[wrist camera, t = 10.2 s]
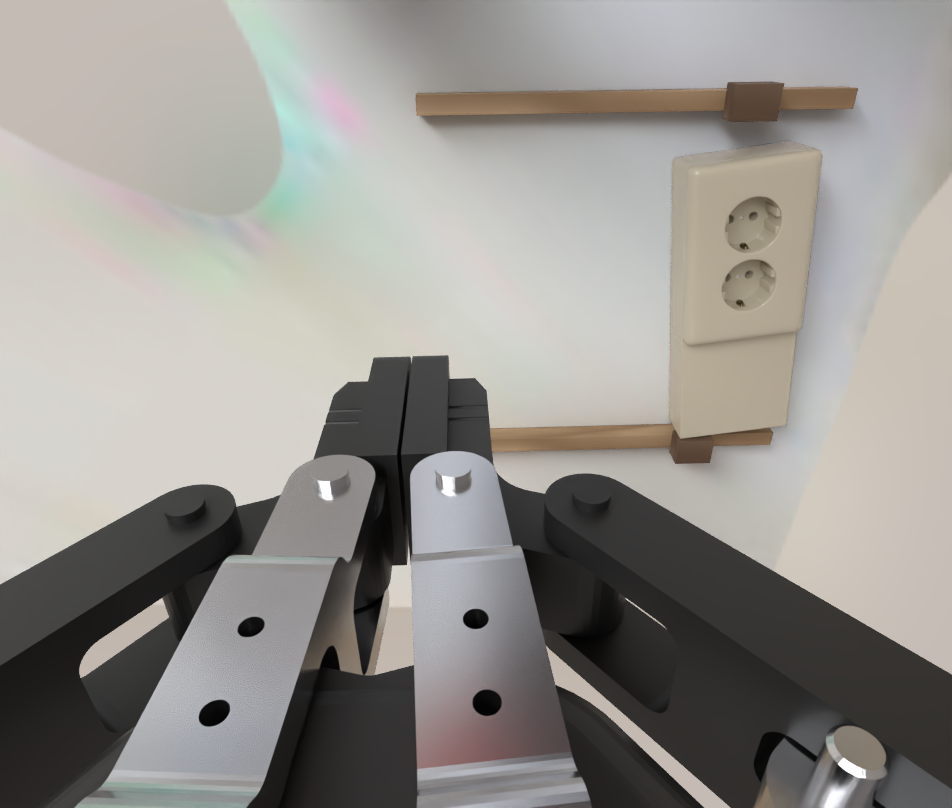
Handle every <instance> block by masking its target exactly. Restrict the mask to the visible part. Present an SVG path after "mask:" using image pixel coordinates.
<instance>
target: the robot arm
mask: <svg viewBox="0 0 952 808" xmlns="http://www.w3.org/2000/svg"><path fill="white" fill-rule="evenodd" d="M408 546H409V550H410V561H411V580H412V610H413V612H412V614H413V645H414V646H413V647H414V665H413V666H409V667H405V668H401V669H397V670H394V671H390V672H386V673H382V674H378V675H374V674H375V670H376V665H377V660H378V655H379V650H380V645H381V640H382V635H383V631H384V626H385V621H386V616H387V611H388V607H389V590H388V586H389V583H390V579H391V570H392V565H407V558H408ZM161 598H163V601H164V604H165V607H166V609H167V612H168V615H169V618H168V619H167V620H165V621H164V622H162V623H161V624H159V625H158V626H157V627H155V628H154V629H152V630H151V631H149V632H148V633H146V634H145V635H144V636H142V637H141V638H139V639H138V640H136V641H135V642H134V643H132V644H131V645H129V646H128V647H126V648H125V649H124V650H122V651H121V652H119V653H118V654H116V655H115V656H113V657H112V658H111V659H109V660H108V661H106V662H105V663H103V664H102V665H101V666H99V667H98V668H96V669H95V670H94V671H92V672H90V673H89V674H88V675H86V676H84V677H82V678H80V675H79V667H80V663H81V660H82V659H83V656H84V655H85V654H86V652H87V651H88V649H89V648H90V647H91V646H92V645H93V644H94V643H96V642H97V641H98V640H99V639H101V638H102V637H104V636H105V635H107V634H109V633H110V632H112V631H113V630H115V629H116V628H117V627H119V626H120V625H122V624H123V623H125V622H126V621H128V620H129V619H131V618H132V617H134V616H135V615H137V614H138V613H140V612H141V611H143V610H144V609H146V608H147V607H149V606H150V605H152V604H153V603H155V602H156V601H158V600H159V599H161ZM625 598H627V599H629V600H630V601H631V602H633V603H634V604H636V605H637V606H638V607H640V608H641V609H642V610H644V611H645V612H647V613H648V614H649V615H651V616H652V617H653V618H655V619H656V620H658V621H659V622H660V623H661V624H663V625H664V626H665V627H666V628H667V629H665V628H664V627H663V626H661V625H660V624H658V623H657V622H656V621H654V620H653V619H652V618H650V617H649V616H648V615H646V614H645V613H643V612H642V611H641V610H639V609H638V608H637V607H635V606H634V605H632V604H631V603H630V602H628V601H627V600H626V599H625ZM545 644H546V645H545ZM546 646H547V647H548V648H549V649H550V650H551V651H552V652H554V653H555V654H556V655H557V656H558V657H559V658H560V659H562V660H563V661H564V662H565V663H566V664H567V665H568V666H570V667H571V668H572V669H573V670H574V671H575V672H576V673H578V674H579V675H580V676H581V677H582V678H583V679H585V680H586V681H587V682H588V683H589V684H590V685H591V686H593V687H594V688H595V689H596V690H597V691H598V692H600V694H602V695H603V696H604V697H605V698H606V699H607V700H608V701H610V702H611V703H612V704H613V705H614V706H615V707H616V708H618V709H619V710H620V711H621V712H622V713H623V714H624V715H626V716H627V717H628V718H629V719H630V720H631V721H633V722H634V723H635V724H636V725H637V726H638V727H640V728H641V729H642V730H643V731H644V732H645V733H646V734H647V735H648V736H650V737H651V738H652V739H653V740H654V741H655V742H656V743H658V744H659V745H660V746H661V747H662V748H664V750H666V751H667V752H668V753H669V754H670V755H671V756H672V757H674V758H675V759H676V760H677V761H678V762H679V763H680V764H682V765H683V766H684V767H685V768H686V769H687V770H688V771H690V772H691V773H692V774H693V775H694V776H695V777H697V778H698V779H699V780H700V781H701V782H702V783H703V784H704V785H706V786H707V787H708V788H709V789H710V790H711V791H712V792H714V793H715V794H716V795H717V796H718V797H719V798H720V799H722V800H723V801H724V802H725V803H726V804H727V805H728V806H730V807H731V808H952V675H951V674H950V673H948V672H946V671H944V670H943V669H941V668H939V667H938V666H936V665H934V664H932V663H931V662H929V661H927V660H926V659H924V658H922V657H920V656H919V655H917V654H915V653H913V652H912V651H910V650H908V649H907V648H905V647H903V646H901V645H900V644H898V643H896V642H895V641H893V640H891V639H889V638H888V637H886V636H884V635H882V634H881V633H879V632H877V631H875V630H874V629H872V628H870V627H869V626H867V625H865V624H863V623H862V622H860V621H858V620H857V619H855V618H853V617H851V616H850V615H848V614H846V613H844V612H843V611H841V610H839V609H838V608H836V607H834V606H832V605H831V604H829V603H827V602H825V601H824V600H822V599H820V598H819V597H817V596H815V595H813V594H812V593H810V592H808V591H807V590H805V589H803V588H801V587H800V586H798V585H796V584H795V583H793V582H791V581H789V580H788V579H786V578H784V577H782V576H780V575H779V574H777V573H776V572H774V571H772V570H770V569H769V568H767V567H765V566H763V565H762V564H760V563H758V562H757V561H755V560H753V559H751V558H750V557H748V556H746V555H745V554H743V553H741V552H739V551H738V550H736V549H734V548H732V547H731V546H729V545H727V544H726V543H724V542H722V541H720V540H719V539H717V538H715V537H713V536H712V535H710V534H708V533H707V532H705V531H703V530H701V529H700V528H698V527H696V526H695V525H693V524H691V523H689V522H688V521H686V520H684V519H682V518H681V517H679V516H677V515H676V514H674V513H672V512H670V511H669V510H667V509H665V508H663V507H662V506H660V505H658V504H657V503H655V502H653V501H651V500H650V499H648V498H646V497H644V496H643V495H641V494H639V493H638V492H636V491H634V490H632V489H631V488H629V487H627V486H626V485H624V484H622V483H620V482H618V481H616V480H614V479H612V478H609V477H606V476H602V475H596V474H574V475H569V476H566V477H563V478H561V479H559V480H557V481H555V482H554V483H552V484H551V485H550V486H549V488H548V489H547V491H546V494H543V493H537V492H532V491H528V490H524V489H521V488H518V487H515V486H513V485H511V484H509V483H508V482H506V481H505V480H504V479H502V478H501V477H500V476H499V475H498V473H497V472H496V470H495V467H494V465H493V457H492V446H491V435H490V424H489V414H488V403H487V392H486V390H485V389H484V388H483V386H482V385H481V384H480V383H479V382H478V381H477V380H476V379H475V378H468V379H450V378H449V357H448V355H447V356H413V358H412V364H411V358H410V357H380V358H374V359H373V363H372V367H371V372H370V376H369V380H368V382H348V383H347V384H346V385H345V386H344V387H342V388H341V389H340V390H339V391H338V392H337V393H336V394H335V395H334V396H333V400H332V403H331V406H330V409H329V413H328V415H327V418H326V425H324V428H323V431H322V434H321V437H320V441H319V444H318V447H317V450H316V453H315V456H314V459H313V460H311V461H309V462H307V463H305V464H303V465H302V466H300V467H299V468H297V469H296V470H295V471H294V472H293V473H292V474H291V476H290V477H289V479H288V481H287V483H286V485H285V487H284V490H283V492H282V494H281V495H279V496H276V497H274V498H271V499H267V500H263V501H259V502H255V503H251V504H247V505H242V506H238V507H236V503H235V499H234V497H233V495H232V494H231V493H230V492H229V491H228V490H226V489H224V488H222V487H219V486H215V485H192V486H187V487H182V488H179V489H176V490H173V491H170V492H168V493H166V494H164V495H162V496H160V497H158V498H156V499H154V500H153V501H151V502H149V503H147V504H145V505H144V506H142V507H140V508H138V509H136V510H135V511H133V512H131V513H129V514H127V515H126V516H124V517H122V518H120V519H118V520H116V521H115V522H113V523H111V524H109V525H107V526H106V527H104V528H102V529H100V530H98V531H97V532H95V533H93V534H91V535H89V536H88V537H86V538H84V539H82V540H80V541H78V542H77V543H75V544H73V545H71V546H69V547H68V548H66V549H64V550H62V551H60V552H59V553H57V554H55V555H53V556H51V557H49V558H48V559H46V560H44V561H42V562H40V563H39V564H37V565H35V566H33V567H31V568H30V569H28V570H26V571H24V572H22V573H21V574H19V575H17V576H15V577H13V578H11V579H10V580H8V581H6V582H4V583H2V584H1V585H0V808H704V807H703V806H702V805H701V804H700V803H698V802H697V801H696V800H695V799H694V798H693V797H692V796H691V795H690V794H689V793H688V792H687V791H686V790H685V789H684V788H683V787H682V786H681V785H679V784H678V782H676V781H675V780H674V779H673V778H672V777H671V776H670V775H669V774H668V773H667V772H666V771H665V770H664V769H663V768H662V767H661V766H660V765H659V764H658V763H657V762H655V761H654V760H653V759H652V758H651V757H650V756H649V755H648V754H647V753H646V752H645V751H644V750H643V749H642V748H640V746H639V745H638V744H637V743H636V742H635V741H633V740H632V739H631V738H630V737H629V736H628V735H627V734H626V733H625V732H624V731H623V730H622V729H621V728H620V727H619V726H618V725H617V724H616V723H615V722H613V721H612V720H611V719H610V718H609V717H608V716H607V715H606V714H604V713H603V712H602V711H600V710H599V709H598V708H596V707H595V706H594V705H592V704H591V703H590V702H588V701H586V700H585V699H583V698H581V697H579V696H577V695H576V694H574V693H572V692H570V691H568V690H566V689H563V688H561V687H559V686H557V685H555V682H554V678H553V674H552V670H551V666H550V661H549V657H548V653H547V649H546Z"/></svg>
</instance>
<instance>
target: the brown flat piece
mask: <svg viewBox="0 0 952 808" xmlns="http://www.w3.org/2000/svg"><path fill="white" fill-rule="evenodd" d="M857 91H858V88H851V87H784V83H778V82H728V84H727V88H716V89H653V90H589V91H525V92H461V93H417V94H416V112H417V116H428V115H489V114H550V113H612V112H673V111H723V116H722V119H725V120H728V121H731V122H749V121H777V118H778V113H779V110H795V109H853V107H854V103H855V99H856V95H857ZM490 435H491V446H492V452H502V451H540V450H578V449H616V448H654V447H670V451H669V452H670V454H671V456H672V458H673V460H674V462H675V464H683V463H710V459H711V454H712V449H713V446H729V445H767V444H770V443H771V439H772V435H773V432H772V431H771V429H770V428H761V429H753V430H745V431H738V432H730V433H722V434H714V435H706V436H698V437H690V438H682V439H680V437H679V436H678V434H677V432H676V430H675V428H674V427H673V425H672V424H653V425H614V426H575V427H536V428H497V429H490Z"/></svg>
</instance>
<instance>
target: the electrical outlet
mask: <svg viewBox="0 0 952 808" xmlns="http://www.w3.org/2000/svg"><path fill="white" fill-rule="evenodd" d="M821 163H822V154H821V152H820V150H818V149H815V148H812V147H809V146H806V145H803V144H800V143H796V142H793V141H784V142H777V143H771V144H764V145H757V146H750V147H743V148H736V149H729V150H722V151H715V152H709V153H702V154H695V155H688V156H681V157H676V158H675V159H673V161H672V194H671V278H670V361H669V419H670V421H671V423H672V425H673V427H674V428H675V430H676V432H677V434H678V436H679V437H680V439H682V438H690V437H698V436H706V435H714V434H722V433H730V432H738V431H745V430H753V429H761V428H769V427H777V426H785V425H786V420H787V411H788V403H789V394H790V385H791V377H792V368H793V359H794V351H795V342H796V333H797V331H799V330H800V329H801V328H802V323H803V314H804V306H805V298H806V289H807V281H808V272H809V264H810V255H811V247H812V239H813V230H814V222H815V213H816V205H817V197H818V188H819V180H820V171H821Z"/></svg>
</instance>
